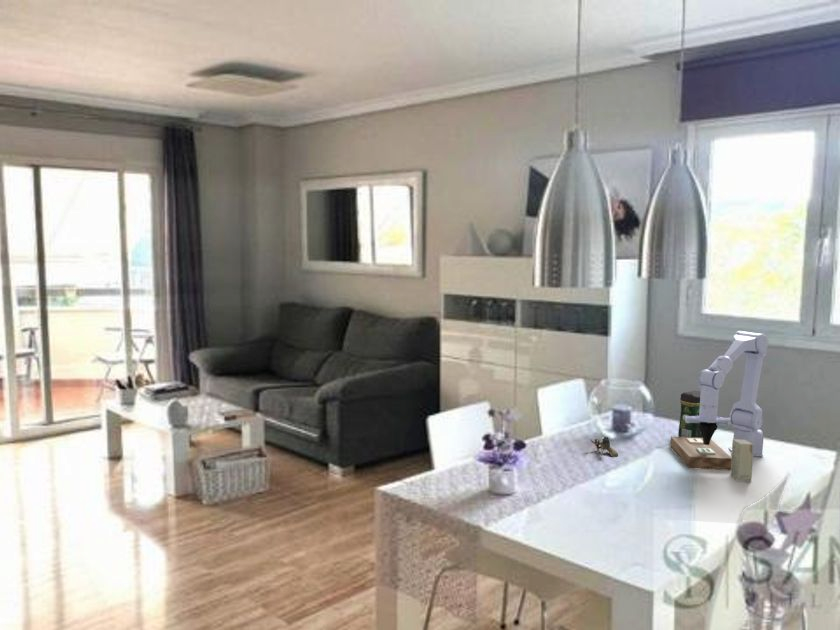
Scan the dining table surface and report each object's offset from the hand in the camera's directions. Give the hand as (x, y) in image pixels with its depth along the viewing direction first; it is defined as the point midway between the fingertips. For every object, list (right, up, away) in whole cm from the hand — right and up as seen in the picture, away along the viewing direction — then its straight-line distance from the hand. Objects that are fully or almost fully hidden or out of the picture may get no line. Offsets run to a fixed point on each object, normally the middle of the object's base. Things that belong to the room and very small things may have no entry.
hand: (706, 444), depth 241 cm
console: (0, -6, +7) cm, 9 cm away
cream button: (+1, -4, +12) cm, 13 cm away
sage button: (0, -5, +1) cm, 5 cm away
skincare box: (+6, -9, -14) cm, 17 cm away
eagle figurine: (-32, -5, +10) cm, 34 cm away
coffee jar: (+7, -4, +31) cm, 32 cm away
